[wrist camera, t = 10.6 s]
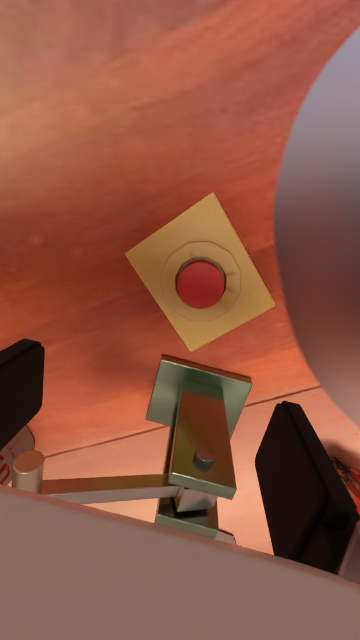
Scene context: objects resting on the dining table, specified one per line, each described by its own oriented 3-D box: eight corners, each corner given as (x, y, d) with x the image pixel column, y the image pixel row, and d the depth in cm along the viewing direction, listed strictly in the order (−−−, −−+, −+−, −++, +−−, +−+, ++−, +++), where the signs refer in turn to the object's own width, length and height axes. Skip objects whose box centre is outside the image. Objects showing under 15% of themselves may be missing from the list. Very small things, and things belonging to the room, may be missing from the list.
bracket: (147, 413, 31) (112, 528, 19) (162, 354, 28) (133, 442, 16) (228, 434, 31) (246, 563, 19) (250, 377, 28) (288, 484, 16)
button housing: (131, 252, 25) (117, 255, 21) (211, 196, 23) (214, 187, 19) (191, 342, 28) (189, 361, 23) (268, 298, 25) (282, 311, 21)
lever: (15, 507, 17) (2, 549, 15) (20, 443, 15) (5, 481, 13) (196, 492, 21) (206, 523, 19) (216, 441, 20) (229, 469, 18)
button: (170, 275, 21) (168, 278, 20) (208, 251, 21) (208, 252, 19) (193, 311, 22) (192, 317, 21) (230, 289, 21) (233, 293, 20)
